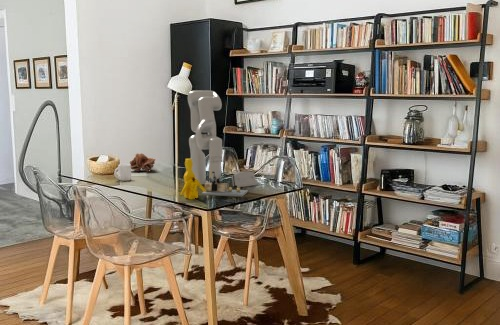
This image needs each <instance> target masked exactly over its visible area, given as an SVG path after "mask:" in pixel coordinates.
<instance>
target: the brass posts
mask: <svg viewBox="0 0 500 325" xmlns="http://www.w3.org/2000/svg"><path fill="white" fill-rule="evenodd" d="M227 189H228V192H232V190H233V187H231V186H227ZM236 190H237V192H240V190H241V187H237V186H236Z"/></svg>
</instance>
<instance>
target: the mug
mask: <svg viewBox="0 0 500 325" xmlns="http://www.w3.org/2000/svg"><path fill="white" fill-rule="evenodd" d="M117 166H118V167H116V168H115V169H114V172H113V173H114V174H113V175H114V177H115V178H116V179H118V180H119V181H121V182H126V181H131V180H132V169H131V164H130V163H120V164H118V165H117ZM117 171H118V172H117ZM117 173H118V174H117Z"/></svg>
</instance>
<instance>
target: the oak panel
mask: <svg viewBox="0 0 500 325" xmlns="http://www.w3.org/2000/svg"><path fill="white" fill-rule="evenodd" d="M216 184H217V192H225V190H227V189H228V182H227V183H226V182H220V183H216ZM204 188H205V190H206V191H212V184H211V182H210V181H208V183H206V184H204Z"/></svg>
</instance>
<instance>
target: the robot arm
mask: <svg viewBox="0 0 500 325" xmlns="http://www.w3.org/2000/svg"><path fill="white" fill-rule="evenodd" d="M187 103H188V107H189V110H190V128H191V131H192V132H193V133H195V134H193V135H191V136H190V137H189V138H188V145H189V152H190V159H192V162H193V166H192V172H193V173H194V174H195V179H198V181H199V182H200V184H201V185H202V186H204V185H205V184H206V183H208V182H209V181H208V180H207V178H206V177H207V174H206V172H207V171H206V164H207V163H206V159H207V158H206V155H205V152H203V150H209V151H208V153H209V154H208V156H209V157H208V158H209V159H208V160H209V161H208V162H209V172H208V173H209V174H208V177H209V179H210V181H211V182H210V183H211V184H212V191H217V184H216V183H221V177H222V162H223V139H222V138H220V137H218V136H217V124H216V123H217V122H216V119H215V113H214V111H220V110H221V109H222V107H223V106H222V105H223V104H222V99H221V98H220V96H219V94H217V92H216V91H214V90H203V89H201V90H198V89H197V90H191V91H189V92H188V94H187ZM202 133H205V134H202ZM206 133H207V134H206Z"/></svg>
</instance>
